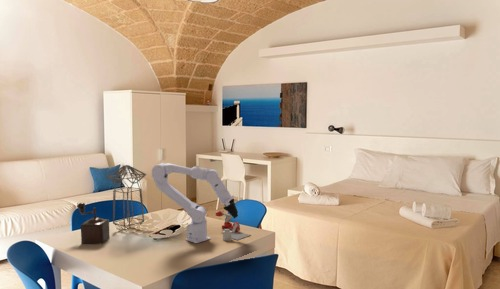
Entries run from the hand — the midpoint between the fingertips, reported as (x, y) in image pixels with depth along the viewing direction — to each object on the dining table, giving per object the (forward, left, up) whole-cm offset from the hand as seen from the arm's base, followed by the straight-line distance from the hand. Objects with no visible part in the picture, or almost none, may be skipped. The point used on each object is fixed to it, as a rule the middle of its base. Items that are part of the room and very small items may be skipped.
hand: (236, 215), depth 195 cm
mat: (+4, +4, -12) cm, 13 cm away
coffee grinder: (-48, +53, -12) cm, 72 cm away
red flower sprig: (+8, +14, -12) cm, 20 cm away
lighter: (-2, +2, -12) cm, 13 cm away
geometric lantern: (-27, +54, -12) cm, 61 cm away
